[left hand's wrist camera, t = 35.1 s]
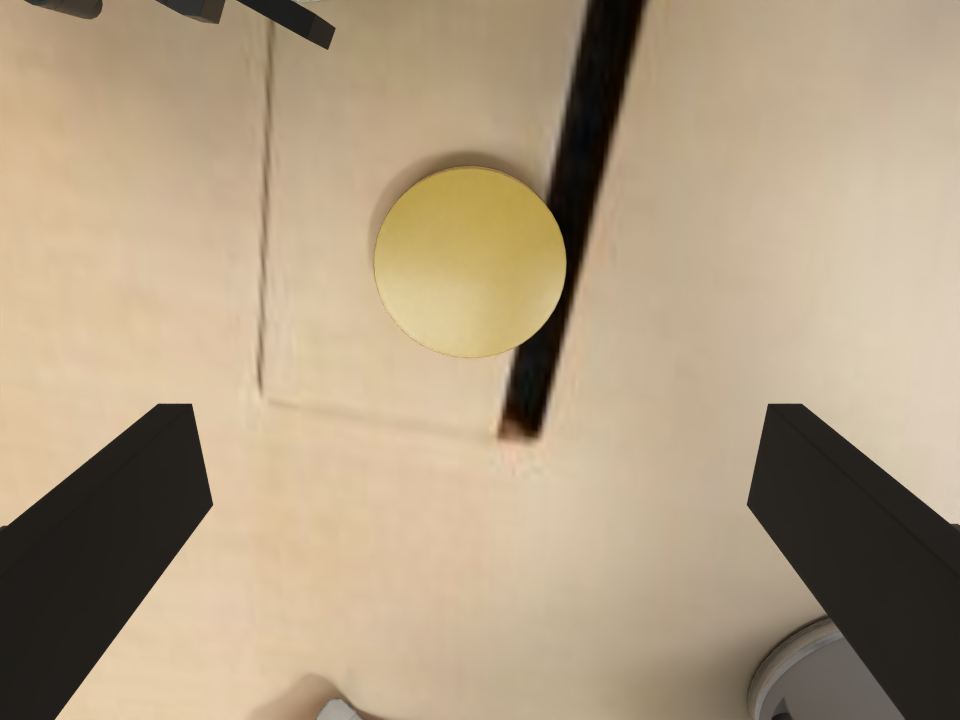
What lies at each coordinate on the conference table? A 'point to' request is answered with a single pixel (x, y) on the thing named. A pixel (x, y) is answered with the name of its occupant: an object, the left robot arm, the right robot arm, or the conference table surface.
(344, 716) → the fish
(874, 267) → the conference table surface
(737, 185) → the conference table surface
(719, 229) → the conference table surface
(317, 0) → the jar
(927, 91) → the conference table surface
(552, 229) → the lid
